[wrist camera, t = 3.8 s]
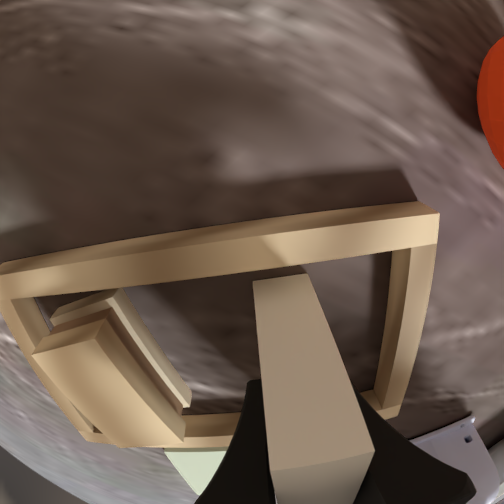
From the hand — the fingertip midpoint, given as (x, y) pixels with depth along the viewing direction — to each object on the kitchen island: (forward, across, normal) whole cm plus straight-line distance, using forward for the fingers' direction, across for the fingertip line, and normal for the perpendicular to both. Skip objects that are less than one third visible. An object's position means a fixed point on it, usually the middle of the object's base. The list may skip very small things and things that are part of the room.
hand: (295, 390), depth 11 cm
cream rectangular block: (+3, 0, 0) cm, 3 cm away
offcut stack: (+3, +8, 0) cm, 8 cm away
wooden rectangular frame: (+3, +4, 0) cm, 5 cm away
